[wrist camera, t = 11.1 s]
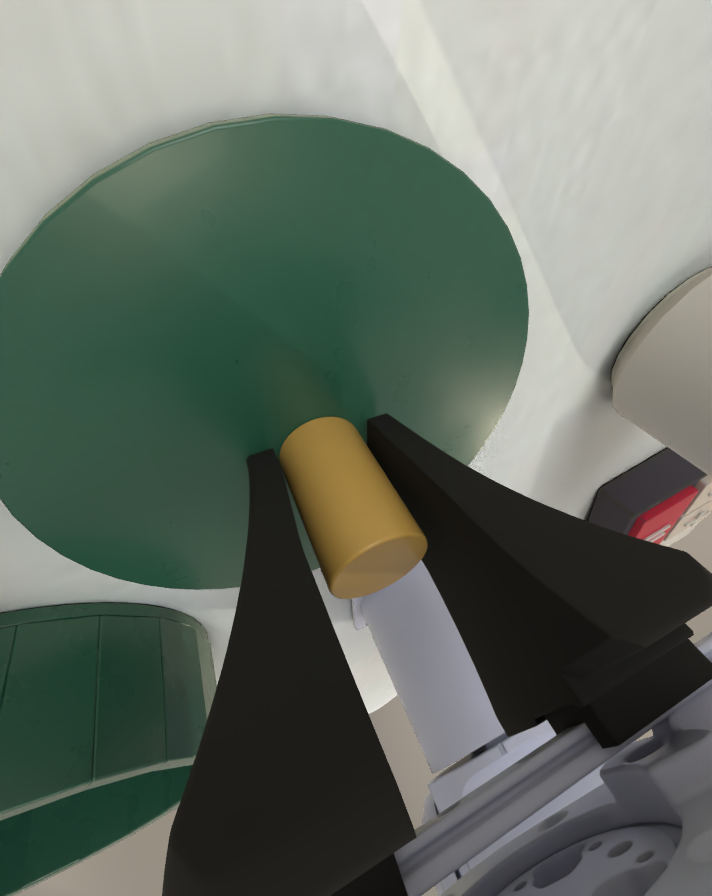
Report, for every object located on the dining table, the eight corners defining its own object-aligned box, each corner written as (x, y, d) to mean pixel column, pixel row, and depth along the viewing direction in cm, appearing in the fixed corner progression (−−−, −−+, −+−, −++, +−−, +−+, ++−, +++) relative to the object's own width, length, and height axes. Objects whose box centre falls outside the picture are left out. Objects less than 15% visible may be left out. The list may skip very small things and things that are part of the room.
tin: (135, 554, 12) (138, 735, 9) (237, 662, 22) (257, 767, 18) (-498, 776, 8) (-899, 1228, 5) (-34, 786, 18) (-69, 944, 15)
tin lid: (580, 94, 8) (894, 107, 5) (458, 489, 18) (530, 579, 15) (-355, 143, 4) (-2096, 395, 1) (156, 607, 14) (165, 763, 11)
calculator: (776, 446, 25) (695, 536, 36) (711, 411, 28) (655, 505, 39) (643, 525, 25) (603, 592, 36) (591, 482, 28) (569, 556, 39)
